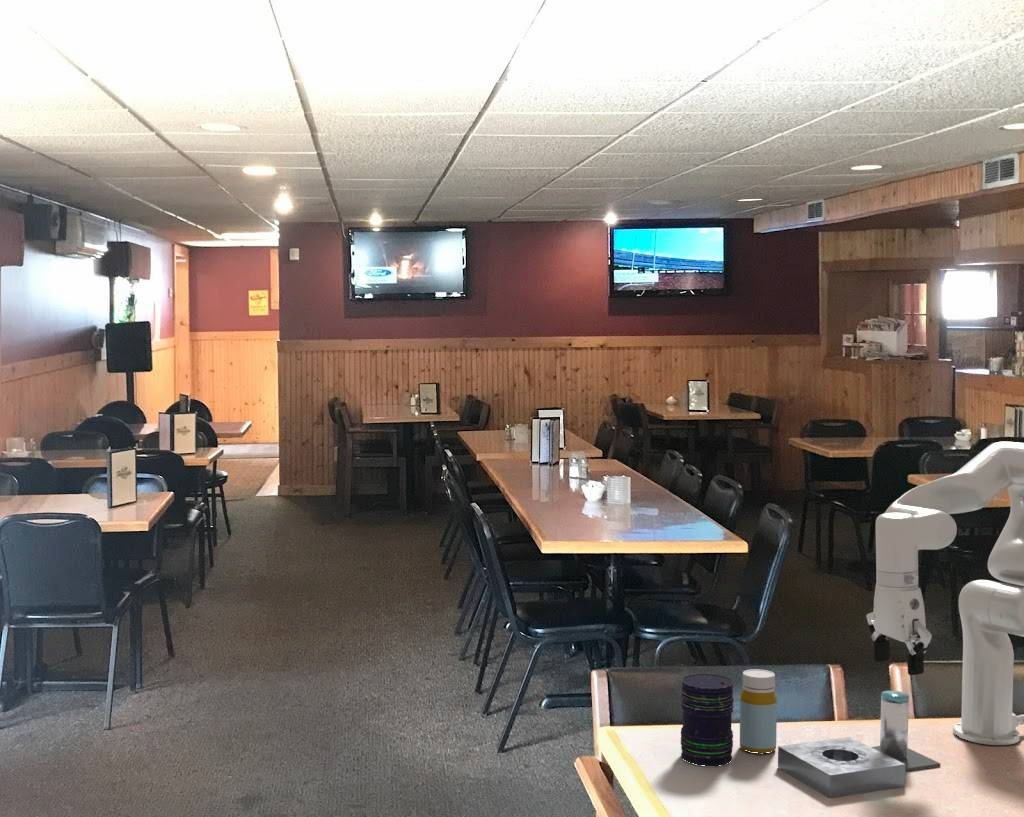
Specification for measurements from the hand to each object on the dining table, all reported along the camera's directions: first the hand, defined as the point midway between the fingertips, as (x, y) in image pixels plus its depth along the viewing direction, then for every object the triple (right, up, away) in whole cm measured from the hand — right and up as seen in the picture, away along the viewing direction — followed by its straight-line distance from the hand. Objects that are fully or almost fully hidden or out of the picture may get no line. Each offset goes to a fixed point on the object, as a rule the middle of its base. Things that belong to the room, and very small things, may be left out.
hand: (898, 667), depth 223 cm
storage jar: (-36, -18, +1) cm, 41 cm away
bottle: (-26, -18, +6) cm, 32 cm away
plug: (-1, -17, 0) cm, 17 cm away
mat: (-1, -18, 0) cm, 18 cm away
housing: (-14, -18, -9) cm, 24 cm away
